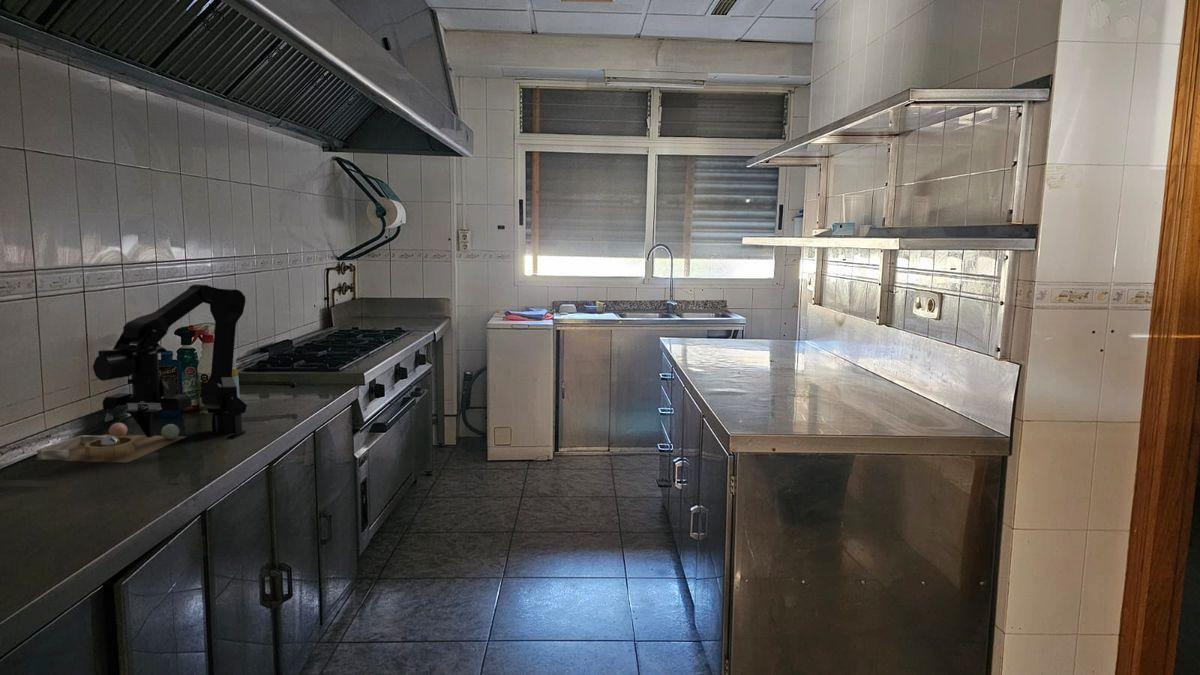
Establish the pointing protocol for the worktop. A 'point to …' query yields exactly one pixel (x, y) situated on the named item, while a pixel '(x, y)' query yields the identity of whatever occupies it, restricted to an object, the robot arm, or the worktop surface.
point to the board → (76, 452)
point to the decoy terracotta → (118, 429)
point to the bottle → (235, 376)
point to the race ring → (110, 448)
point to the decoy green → (170, 431)
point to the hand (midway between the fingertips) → (150, 436)
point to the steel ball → (110, 441)
